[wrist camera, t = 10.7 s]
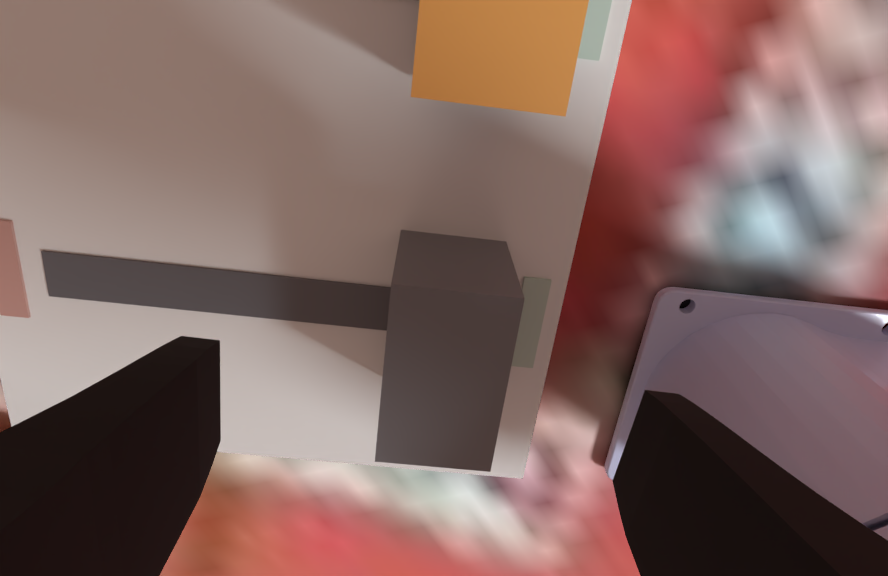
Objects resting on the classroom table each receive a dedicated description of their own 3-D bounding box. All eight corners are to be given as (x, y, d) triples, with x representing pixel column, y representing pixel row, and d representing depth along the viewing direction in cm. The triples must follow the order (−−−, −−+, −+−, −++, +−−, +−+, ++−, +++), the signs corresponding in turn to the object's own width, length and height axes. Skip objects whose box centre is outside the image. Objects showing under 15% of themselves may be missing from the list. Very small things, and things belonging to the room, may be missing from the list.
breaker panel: (684, -347, 13) (857, -610, 8) (515, 441, 22) (540, 573, 16) (-116, -489, 12) (-562, -907, 7) (49, 398, 21) (-83, 524, 15)
